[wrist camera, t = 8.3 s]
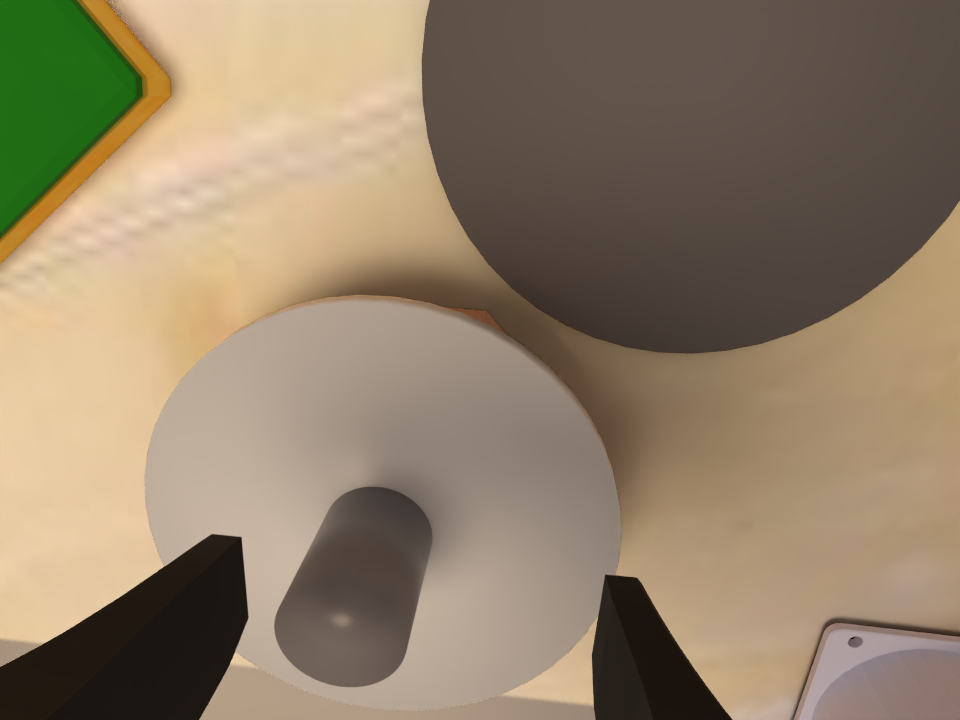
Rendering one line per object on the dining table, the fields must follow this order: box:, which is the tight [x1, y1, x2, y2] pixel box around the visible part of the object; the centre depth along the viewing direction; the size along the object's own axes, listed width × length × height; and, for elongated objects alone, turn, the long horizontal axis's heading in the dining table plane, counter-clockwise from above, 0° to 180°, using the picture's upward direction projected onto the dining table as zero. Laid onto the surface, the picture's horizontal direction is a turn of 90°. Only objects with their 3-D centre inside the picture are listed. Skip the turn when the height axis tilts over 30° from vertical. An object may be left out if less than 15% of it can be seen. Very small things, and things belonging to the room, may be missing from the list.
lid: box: [144, 295, 621, 711], centre depth 18 cm, size 14×14×5 cm
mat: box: [422, 0, 960, 353], centre depth 19 cm, size 16×16×1 cm
